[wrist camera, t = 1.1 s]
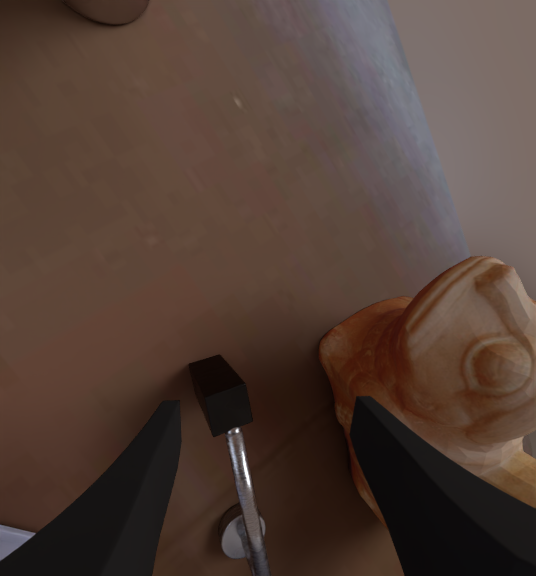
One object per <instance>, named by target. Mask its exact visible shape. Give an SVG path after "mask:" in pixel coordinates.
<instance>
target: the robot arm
mask: <svg viewBox="0 0 536 576" xmlns="http://www.w3.org/2000/svg"><path fill="white" fill-rule="evenodd" d="M349 436H350V439H351V442H352V446H353V449H354V452H355V455H356V458H357V461H358V463H359V465H360V467H361V470H362V472H363V474H364V476H365V479H366V481H367V483H368V485H369V487H370V489H371V492H372V494H373V496H374V498H375V500H376V503H377V505H378V507H379V509H380V511H381V514H382V516H383V518H384V520H385V523H386V525H387V527H388V530H389V532H390V535H391V538H392V541H393V543H394V546H395V549H396V552H397V555H398V557H399V560H400V563H401V566H402V569H403V572H404V575H405V576H536V508H534V507H532V506H530V505H528V504H526V503H524V502H522V501H520V500H518V499H516V498H514V497H513V496H511V495H509V494H507V493H505V492H503V491H502V490H500V489H498V488H496V487H495V486H493V485H491V484H489V483H488V482H486V481H484V480H482V479H481V478H479V477H477V476H476V475H474V474H473V473H471V472H469V471H468V470H466V469H465V468H463V467H462V466H460V465H459V464H457V463H456V462H454V461H453V460H451V459H450V458H448V457H447V456H445V455H444V454H442V453H441V452H440V451H438V450H437V449H436V448H434V447H433V446H431V445H430V444H429V443H427V442H426V441H425V440H423V439H422V438H421V437H420V436H418V435H417V434H416V433H415V432H413V431H412V430H411V429H410V428H408V427H407V426H406V425H405V424H403V423H402V422H401V421H400V420H399V419H397V418H396V417H395V416H394V415H393V414H392V413H390V412H389V411H388V410H387V409H386V408H384V407H383V406H382V405H381V404H380V403H379V402H377V401H376V400H375V399H374V398H372V397H371V396H356V400H355V406H354V411H353V417H352V422H351V428H350V433H349ZM181 442H182V441H181V420H180V400H175V401H163V402H162V403H161V404H160V405H159V406H158V408H157V409H156V411H155V412H154V414H153V415H152V416H151V418H150V419H149V420H148V422H147V423H146V424H145V426H144V427H143V428H142V430H141V431H140V432H139V433H138V435H137V436H136V437H135V438H134V439H133V441H132V442H131V443H130V444H129V446H128V447H127V448H126V449H125V450H124V451H123V452H122V454H121V455H120V456H119V457H118V458H117V459H116V460H115V461H114V463H113V464H112V465H111V466H110V467H109V468H108V469H107V470H106V471H105V472H104V473H103V474H102V475H101V476H100V477H99V478H98V479H97V480H96V481H95V482H94V483H93V484H92V485H91V486H90V487H89V488H88V489H87V490H86V491H85V492H84V493H83V494H82V495H81V496H80V497H78V498H77V499H76V500H75V501H74V502H73V503H72V504H71V505H70V506H69V507H68V508H66V509H65V510H64V511H63V512H62V513H61V514H59V515H58V516H57V517H56V518H55V519H54V520H52V521H51V522H50V523H49V524H47V525H46V526H45V527H44V528H42V529H41V530H40V531H39V532H37V533H33V532H29V531H24V530H20V529H16V528H12V527H8V526H4V525H0V576H152V573H153V567H154V561H155V556H156V550H157V546H158V542H159V537H160V533H161V529H162V525H163V522H164V518H165V514H166V510H167V506H168V503H169V499H170V495H171V491H172V487H173V484H174V480H175V476H176V472H177V468H178V461H179V455H180V448H181Z"/></svg>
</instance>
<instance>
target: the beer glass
mask: <svg viewBox="0 0 536 576" xmlns="http://www.w3.org/2000/svg"><path fill="white" fill-rule="evenodd" d="M62 1H64V2H65V3H66V4H67V5H68V6H69V7H71V8H72V9H73V10H75V11H76V12H78V13H79V14H81V15H83V16H85V17H87V18H89V19H91V20H93V21H96V22H100V23H104V24H111V25H119V24H125V23H129V22H131V21H133V20H135V19H137V18H138V17H139V16H140V15H141V14H142V13H143V12H144V11H145V9H146V8H147V6H148V3H149V1H150V0H62Z"/></svg>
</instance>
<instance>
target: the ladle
mask: <svg viewBox="0 0 536 576" xmlns="http://www.w3.org/2000/svg"><path fill="white" fill-rule="evenodd" d="M189 368H190V373H191V377H192V382H193V386H194V391H195V394H196V397H197V399H198V402H199V404H200V407H201V409H202V411H203V414H204V416H205V419H206V421H207V423H208V426H209V428H210V431H211V433H212V436H213V437H215V436H218V435H220V434H223V433H225V437H226V442H227V447H228V452H229V456H230V461H231V466H232V471H233V475H234V480H235V485H236V489H237V494H238V499H239V504H237V505H235V506H233V507H232V508H230V509H229V510H228V511H227V512H226V513H225V515H224V516H223V517H222V519H221V521H220V524H219V528H218V536H219V540H220V543H221V547H222V550H223V552H224V553H225V555H227V556H228V557H229V558H232V559H240V558H244V557H246V559H247V561H248V564H249V567H250V570H251V573H252V575H253V576H271V571H270V566H269V561H268V556H267V551H266V546H265V541H264V535H265V527H266V526H265V521H264V519H263V517H262V515H261V513H260V511H259V509H258V506H257V501H256V496H255V491H254V486H253V482H252V477H251V472H250V467H249V462H248V457H247V452H246V447H245V442H244V437H243V432H242V428H241V426H243V425H245V424H248V423H250V422H252V421H253V418H252V413H251V407H250V402H249V397H248V392H247V387H246V383H245V382H244V381H243V380H242V379H241V378H240V377H239V375H238V374H237V373H236V372H235V371H234V370H233V369H232V367H231V366H230V365H229V364H228V363H227V362H226V361H225V360H224V358H223V357H222V356H221V355H216V356H213V357H210V358H206V359H203V360H200V361H196V362H193V363H190V364H189Z"/></svg>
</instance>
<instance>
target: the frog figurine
mask: <svg viewBox="0 0 536 576" xmlns="http://www.w3.org/2000/svg"><path fill="white" fill-rule="evenodd" d="M319 360H320V362H321V364H322V366H323V368H324V370H325V371H326V373H327V376H328V379H329V382H330V385H331V388H332V391H333V396H334V400H335V412H336V416H337V419H338V421H339V423H340V424H341V425H342V426H343V429H344V435H345V440H346V444H347V449H348V468H349V471H350V473H351V476H352V479H353V481H354V484H355V486H356V488H357V490H358V492H359V494H360V496H361V497H362V498H363V499H364V500H365V502H366V503H367V504H368V505H369V507H370V508H371V509H372V511H373V512H374V513H375V515H376V516H377V517H378V518H379V520H380V521H381V522H382V524H383V525H384V526H385V527H386V528H387V529H388V527H387V525H386V523H385V520H384V518H383V516H382V514H381V511H380V509H379V507H378V505H377V503H376V500H375V498H374V496H373V494H372V492H371V489H370V487H369V485H368V483H367V481H366V479H365V476H364V474H363V472H362V470H361V467H360V465H359V463H358V461H357V458H356V455H355V452H354V449H353V446H352V442H351V439H350V436H349V433H350V428H351V422H352V417H353V411H354V406H355V400H356V396H371V397H372V398H374V399H375V400H376V401H377V402H379V403H380V404H381V405H382V406H383V407H384V408H386V409H387V410H388V411H389V412H390V413H392V414H393V415H394V416H395V417H396V418H397V419H399V420H400V421H401V422H402V423H403V424H405V425H406V426H407V427H408V428H410V429H411V430H412V431H413V432H415V433H416V434H417V435H418V436H420V437H421V438H422V439H423V440H425V441H426V442H427V443H429V444H430V445H431V446H433V447H434V448H436V449H437V450H438V451H440V452H441V453H442V454H444V455H445V456H447V457H448V458H450V459H451V460H453V461H454V462H456V463H457V464H459V465H460V466H462V467H463V468H465V469H466V470H468V471H469V472H471V473H473V474H474V475H476V476H477V477H479V478H481V479H482V480H484V481H486V482H488V483H489V484H491V485H493V486H495V487H496V488H498V489H500V490H502V491H503V492H505V493H507V494H509V495H511V496H513V497H514V498H516V499H518V500H520V501H522V502H524V503H526V504H528V505H530V506H532V507H534V508H536V459H534V458H533V457H531V456H530V455H528V454H527V453H525V452H524V451H523V447H522V439H523V437H524V436H525V435H527V434H529V433H532V432H533V431H535V430H536V301H534V300H532V299H531V298H529V297H528V296H527V294H526V292H525V290H524V288H523V285H522V283H521V281H520V279H519V276H518V275H517V274H516V271H515V269H514V267H511V266H507V265H505V264H504V263H503V262H502V261H500V260H498V259H495V258H493V257H485V256H475V257H470V258H468V259H466V260H464V261H462V262H460V263H458V264H457V265H455V266H453V267H451V268H449V269H448V270H446V271H444V272H443V273H441V274H440V275H439V276H438V277H436V278H435V279H434V280H433V281H431V282H430V283H429V284H428V285H427V286H425V287H424V288H423V289H422V290H421V291H420V292H419V293H418V294H417V295H416V296H415V297H414V298H411V297H405V296H401V297H397V298H393V299H388V300H384V301H381V302H377V303H375V304H373V305H371V306H368V307H366V308H364V309H362V310H361V311H359V312H357V313H356V314H354V315H352V316H351V317H349V318H348V319H346V320H345V321H343V322H342V323H340V324H339V325H337V326H336V327H334V328H333V329H331V330H330V331H329V332H327V333H326V334H325V335H324V337H323V338H322V340H321V341H320V345H319ZM388 531H389V530H388Z"/></svg>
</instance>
